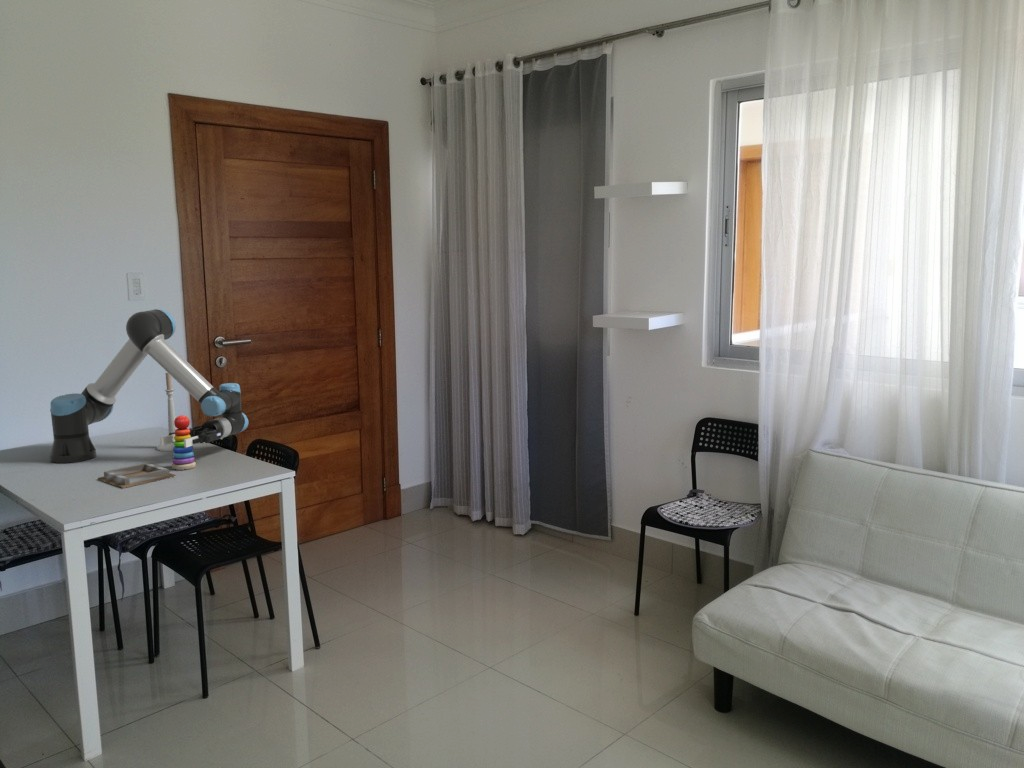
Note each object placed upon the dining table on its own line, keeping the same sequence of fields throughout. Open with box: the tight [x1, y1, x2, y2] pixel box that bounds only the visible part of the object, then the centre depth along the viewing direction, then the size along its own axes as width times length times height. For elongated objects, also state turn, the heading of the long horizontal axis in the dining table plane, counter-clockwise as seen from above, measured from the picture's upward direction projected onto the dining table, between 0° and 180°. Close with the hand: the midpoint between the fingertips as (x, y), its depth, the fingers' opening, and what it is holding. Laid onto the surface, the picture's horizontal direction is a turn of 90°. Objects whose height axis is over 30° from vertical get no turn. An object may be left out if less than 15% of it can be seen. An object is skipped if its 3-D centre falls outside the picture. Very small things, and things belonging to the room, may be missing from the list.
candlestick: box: [156, 372, 177, 452], centre depth 323 cm, size 13×13×30 cm
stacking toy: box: [171, 414, 197, 471], centre depth 293 cm, size 8×8×19 cm
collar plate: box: [97, 462, 177, 489], centre depth 281 cm, size 18×18×3 cm
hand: (173, 442), depth 289 cm, fingers open, 9 cm apart
